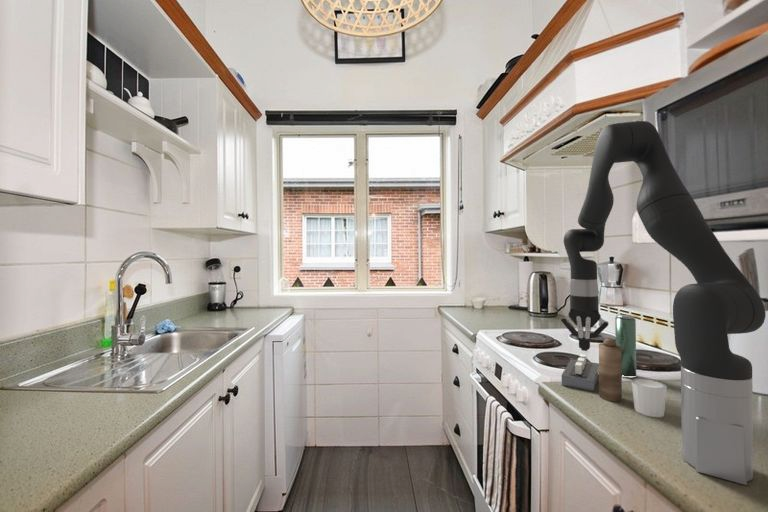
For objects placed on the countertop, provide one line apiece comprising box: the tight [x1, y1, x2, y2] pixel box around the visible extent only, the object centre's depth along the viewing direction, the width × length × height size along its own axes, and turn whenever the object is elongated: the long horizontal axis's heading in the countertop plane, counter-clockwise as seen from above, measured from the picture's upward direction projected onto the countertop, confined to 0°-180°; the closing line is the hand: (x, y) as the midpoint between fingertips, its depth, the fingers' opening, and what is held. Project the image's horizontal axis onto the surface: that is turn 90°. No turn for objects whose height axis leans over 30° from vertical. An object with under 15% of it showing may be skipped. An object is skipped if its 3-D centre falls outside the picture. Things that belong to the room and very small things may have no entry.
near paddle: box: [575, 362, 583, 374], centre depth 99 cm, size 3×2×3 cm, turn 143°
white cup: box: [630, 378, 668, 418], centre depth 81 cm, size 7×7×7 cm
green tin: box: [614, 314, 637, 377], centre depth 105 cm, size 5×5×19 cm
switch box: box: [561, 358, 599, 392], centre depth 103 cm, size 18×8×3 cm, turn 143°
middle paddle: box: [576, 357, 585, 370], centre depth 103 cm, size 3×2×3 cm, turn 143°
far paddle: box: [579, 353, 588, 365], centre depth 107 cm, size 3×2×3 cm, turn 143°
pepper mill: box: [598, 337, 623, 403], centre depth 89 cm, size 5×5×16 cm
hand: (584, 350), depth 102 cm, fingers closed
